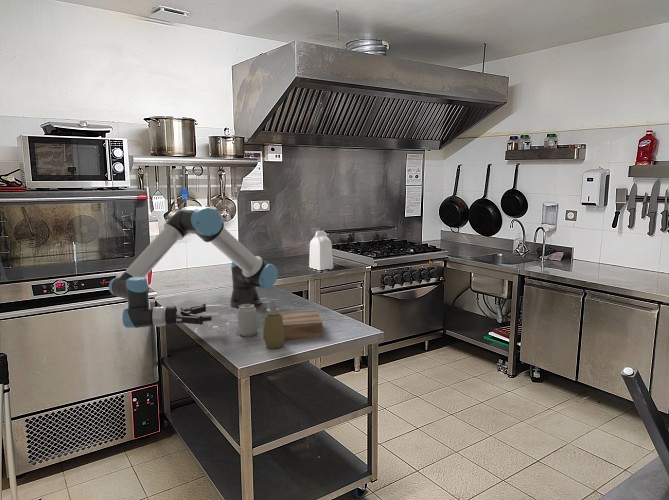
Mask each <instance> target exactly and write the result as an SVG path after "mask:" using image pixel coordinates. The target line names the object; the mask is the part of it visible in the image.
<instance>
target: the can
mask: <svg viewBox="0 0 669 500" xmlns="http://www.w3.org/2000/svg"><path fill="white" fill-rule="evenodd" d="M257 320H258V319H257V308H256V306H254V305H253V304H243V305H240V306H239V307H238V308H237V325H238V334H239V335H240V336H242V337H252V336H254V335H256V334H257V332H258V321H257Z"/></svg>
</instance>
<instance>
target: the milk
mask: <svg viewBox="0 0 669 500" xmlns="http://www.w3.org/2000/svg"><path fill="white" fill-rule="evenodd" d="M333 259H334V258H333V245H332V240H331V239H330V238H329V237H328V236H327V234H326V232H325V230H318V231H315V234H314V236H313V238H312V239H311V240H310V242H309V259H308V262H309V263H308V264H309V265H308V268H309V267H310V268H313V269H317V270H325V269H330V270H333V269H334V260H333ZM332 268H333V269H332ZM325 271H326V270H325Z"/></svg>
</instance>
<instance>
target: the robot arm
mask: <svg viewBox="0 0 669 500" xmlns="http://www.w3.org/2000/svg"><path fill="white" fill-rule="evenodd" d="M222 219H223V218H222V215H221V214H220V212H219V211H218V210H216V209H215V208H213V207H209V206H192V205H190V206H189V205H188V206H185V207H182V208H180V209H179V210H177V211H176V213H174V214H173V215H172V216H171V217H170V218H168V220H167V221H166V222H165V224H163V229H162V230H161V231H160V233H159V234H158V235H157V236H155V238H154V239H153V240H152V241H151V242H150V243H149V245H148V246H147V247H146V248H145V249H144V250H143V251H142V252H141V253H140V254H139V255H138V256H137V257H136V258H135V260H134V261H132V263H131V264H130V265H129V266H128V268H126V270H125V271H124V272H123V273H122V274H121V275H120V276H119V277H114V278H113V279H111V280H110V282H109V283H108V290H109V293H111V295H113V296H115V297H117V298H122V299H125V300H126V301H127V306H128V308H124V309H123V311H122V314H121V315H122V319H121V320H122V325H123V327H125V328H127V329H130V328H131V329H133V328H134V329H138V328H139V329H140V328H149V327H157V328H160V327H163V326H164V327H165V326H176V325H177V324H192V325H203V324H204V323H210V322H221V318H222V317H221V312H223V304H215V305H214V304H213V305H212V304H211V305H206V303H203V304H198V305H192V306H186V307H180V309H179V310H178V309H177V306H176V305H169V306H166V307H165V306H151V307H150V300H149V297H150V296H149V285H148V279H147V278H146V277H147V276H148V274H149V273H150V272H151V271H152V270H153V269H154V268H155V267H156V266H157V264H158V263H159V262H160V261H161V260H162V259H163V258H164V257H165V255H166V254H167V253H168V252H169V251H170V250H171V248H173V246H174V245H175V244H176V243H177V242H178V241H181V240H183V239H184V238H185V237H186V236H187V235H188V234H195V235H196V236H197V237H199V238H200V239H201V240H202V241H203V242H204V243H211V244H212V245H213V246H214V247H215V248H217V250H219V251H220V253H222V254H224V256H226V257H227V258H228V259H229V260H230V261H231V267H230V269H231V278H232V279H231V281H232V291H231V295H230V299H229V305H230V307H234V308H239V306H240V305H243V304H253V305H254V307H256V306H258V305H260V304H261V302H262V301H261V297H260V294H259V292H258V288H261V289H270V288H272V287H273V286H274V285H275V284H276V282H277V279H278V273H279V271H278V269H277V267H276V266H275V265H274V264H272V263H268V262H266V261H265V260H264V259H263V258H262V257H261V256H259V255H254V254H253V253H252V252H251V251H250V250H249V249H248V248H247V247H245V246H244V245H243V244H242V243H241V242H240V241H239V240H238V239H237V238H236V237H235V236H234V235H233V234H231V233H230V232H229V231H228V230H227V229H226V227H225V223H224V222H223V220H222ZM202 313H203V314H202ZM204 313H210V314H204ZM200 314H202V315H200Z"/></svg>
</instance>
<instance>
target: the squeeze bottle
mask: <svg viewBox="0 0 669 500" xmlns="http://www.w3.org/2000/svg"><path fill="white" fill-rule="evenodd" d="M279 312H280V308H278V307H277V306H276V302H275V299H270V303H269V307H268V308H267V309H266V314H265V315H264V319H263V335H262V336H263V337H262V338H263V340H264V342H265V345H266V348H267V349H279V348H281V347H282V346H283V344H284V341H285V340H284V338H285V334H284V327H283V320H282V315H281V314H279Z"/></svg>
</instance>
